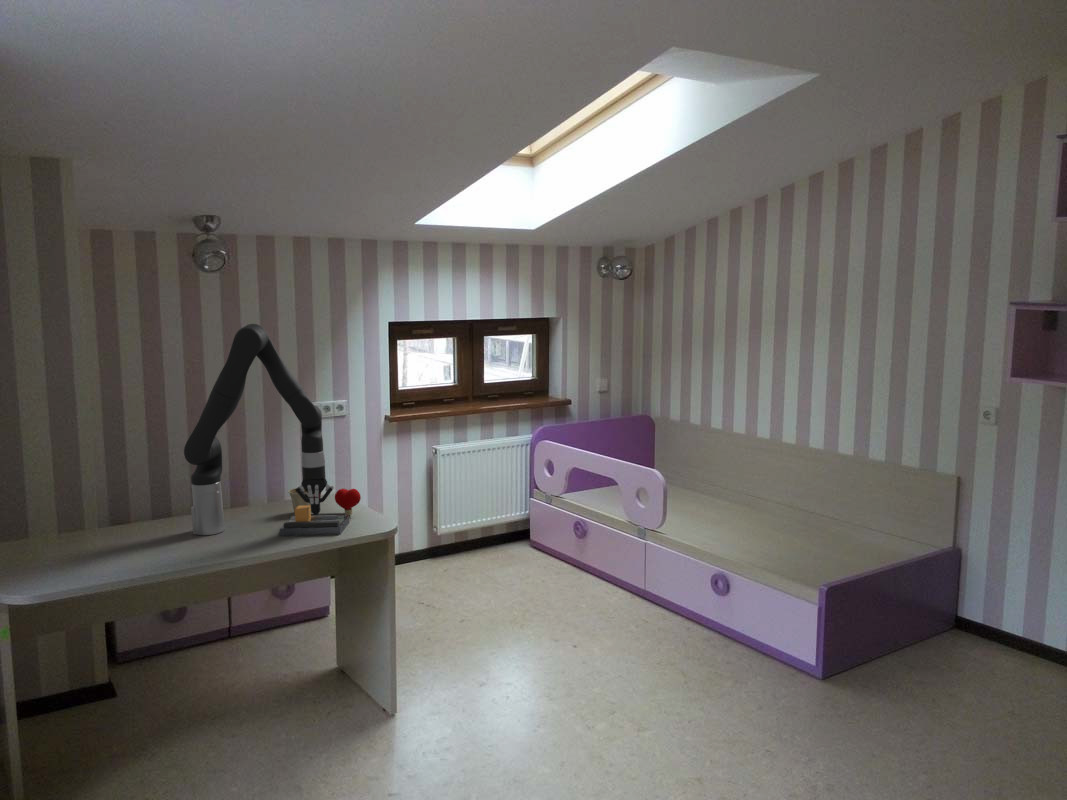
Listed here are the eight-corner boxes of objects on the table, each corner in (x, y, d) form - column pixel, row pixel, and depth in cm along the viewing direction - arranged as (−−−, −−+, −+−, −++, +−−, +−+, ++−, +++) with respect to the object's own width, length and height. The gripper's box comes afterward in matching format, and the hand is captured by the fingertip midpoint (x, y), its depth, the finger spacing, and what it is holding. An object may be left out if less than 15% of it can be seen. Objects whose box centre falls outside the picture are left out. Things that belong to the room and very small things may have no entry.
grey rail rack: (283, 527, 271) (283, 523, 271) (293, 517, 283) (293, 514, 283) (337, 526, 272) (337, 522, 271) (345, 516, 283) (345, 512, 283)
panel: (280, 535, 271) (279, 525, 270) (292, 523, 285) (291, 513, 284) (340, 534, 271) (339, 523, 270) (349, 522, 285) (348, 512, 284)
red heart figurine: (364, 513, 296) (362, 486, 294) (358, 519, 289) (356, 491, 287) (339, 513, 297) (337, 486, 295) (332, 518, 290) (331, 491, 288)
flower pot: (291, 510, 302) (289, 487, 301) (317, 508, 304) (316, 486, 303) (288, 517, 293) (286, 494, 292) (315, 515, 295) (313, 492, 294)
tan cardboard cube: (295, 523, 275) (294, 509, 274) (299, 519, 280) (298, 505, 279) (307, 523, 275) (306, 509, 274) (311, 519, 280) (310, 505, 279)
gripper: (290, 467, 271) (293, 517, 273) (330, 466, 271) (332, 516, 274) (296, 462, 278) (299, 511, 281) (335, 461, 279) (337, 510, 281)
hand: (316, 514), depth 277 cm, fingers closed
